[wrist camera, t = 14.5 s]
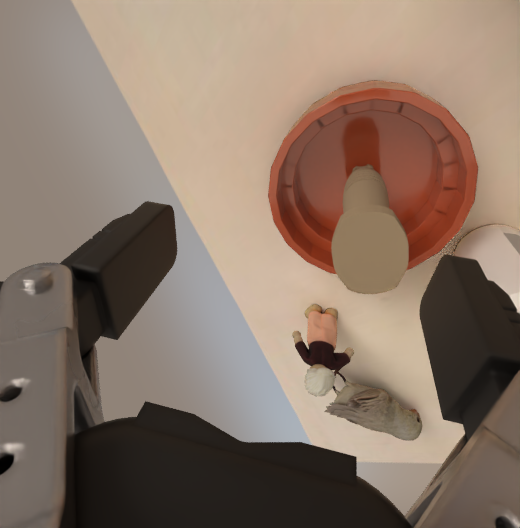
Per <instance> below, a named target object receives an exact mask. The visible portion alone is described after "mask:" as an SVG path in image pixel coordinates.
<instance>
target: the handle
mask: <svg viewBox="0 0 520 528" xmlns="http://www.w3.org/2000/svg"><path fill="white" fill-rule="evenodd" d="M343 213H344V214H342V215H341V216H340V219H339V221H338V223H337V226H336V229H335V231H334V234H333V238H332V246H331V249H332V259H333V265H334V269H335V272H336V273H337V275H338V277H339V278H340V279H341V281H342V282H343V283H344V285H345V286H346V287H347V288H348V289H349V290H351V291H354V292H357V293H362V294H377V293H383V292H387V291H389V290H392V289H393V288H395V287H397V285H398V284H399V282H400V280H401V279H402V277H403V275H404V273H405V272H406V269H407V267H408V261H409V246H408V239H407V235H406V232H405V230H404V228H403V226H402V224H401V223H400V221H399V219H398V218H397V216H396V215H395V213H394V212H393V210H392V209H389V198H388V193H387V189H386V186H385V183H384V181H383V179H382V177H381V176H380V174H379V173H378V172H377V171H375V170H374V168H373V166H372V165H370V164H367V165H365V166H356V167H354V168H353V170H352V174H351V175H350V176H349V178H348V179H347V181H346V184H345V188H344V193H343Z"/></svg>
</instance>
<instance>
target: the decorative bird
mask: <svg viewBox="0 0 520 528" xmlns="http://www.w3.org/2000/svg"><path fill="white" fill-rule="evenodd" d="M341 368H342V367H341ZM341 368H339V369H336V370H335V372H334V373H335V374H334V376H336V374H339V375H340V376H341V377H342V378H343V380H344V382H345V384H346V385H347V386H345V387H344V388H343V389H342V390H341V392H339V391H337V390H336V389H335V387H334V385H333V389H334V391H335V393H336V394H337V395H338V396H337V398H336V399H335V401H334V403H333V402H332V403H330V405H332V406H328V407H327V406H326V408H327V410H326V411H325V412H329V413H330V414H331V415H336V416H337V417H341V418H345V419H347V420H348V421H350V422H352V423H355V424H358V425H361V426H363V427H365V428H368V429H371V430H374V431H380V432H385V433H388V434H391V435H393V436H395V437H397V438H399V439H402V440H414V439H416V438H417V437H418V436H419V435H420V433H421V429H422V422H421V419H420V416H419V413H418V412H417V411H416V410H415V409H411V410H406V409H403V408H401V406H400V404H398V403H397V402H396V401H395V400H394V399H393V398H392V397H391V396H390V395H389V394H388V393H387V392H386V391H384V390H382V389H374V388H371V387H368V386H364V385H359V384H355V383H351V384H350V383H349V382H348V381H346V379H345V378H344V376H343V375H342V374H340V373H339V372H338V371H339V370H340V369H341Z"/></svg>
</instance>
